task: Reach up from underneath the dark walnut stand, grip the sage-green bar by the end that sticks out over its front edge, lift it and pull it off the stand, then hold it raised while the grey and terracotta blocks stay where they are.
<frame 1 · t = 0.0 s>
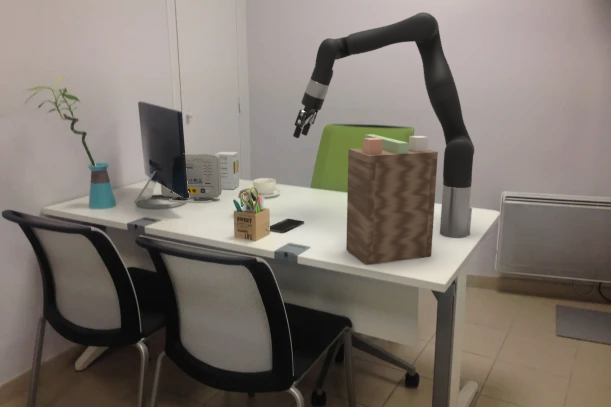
hand: (299, 136, 195), 31 cm above the table, tool tilted 20°, fingers open, 8 cm apart
walnut stand: (388, 253, 165), on the table
network device: (191, 200, 231), on the table
grey block: (418, 150, 157), point 32 cm above the table, touching walnut stand
sage green bar: (385, 148, 161), point 32 cm above the table, touching walnut stand
food container: (247, 217, 204), on the table
phone: (285, 228, 192), on the table
terracotta block: (372, 152, 152), point 32 cm above the table, touching walnut stand
supplement box: (227, 187, 256), on the table
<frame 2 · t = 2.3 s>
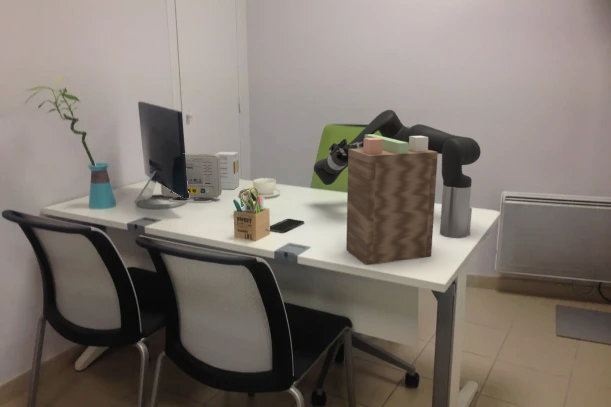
hand: (357, 140, 186), 31 cm above the table, tool pointing upward, fingers open, 8 cm apart
nothing on the table moved.
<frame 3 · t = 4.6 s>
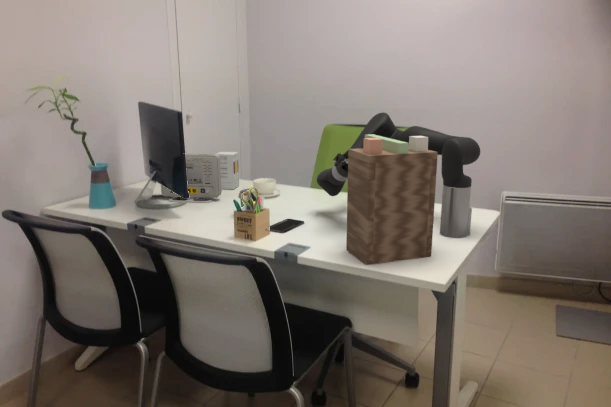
hand: (363, 150, 175), 29 cm above the table, tool pointing upward, fingers open, 8 cm apart
nothing on the table moved.
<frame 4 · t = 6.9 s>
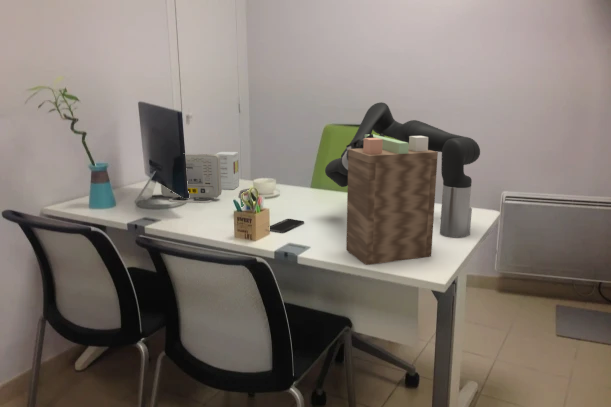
hand: (377, 136, 165), 35 cm above the table, tool pointing upward, fingers closed on sage green bar, 3 cm apart
sage green bar: (385, 148, 161), point 32 cm above the table, touching gripper, walnut stand
everything else where it was.
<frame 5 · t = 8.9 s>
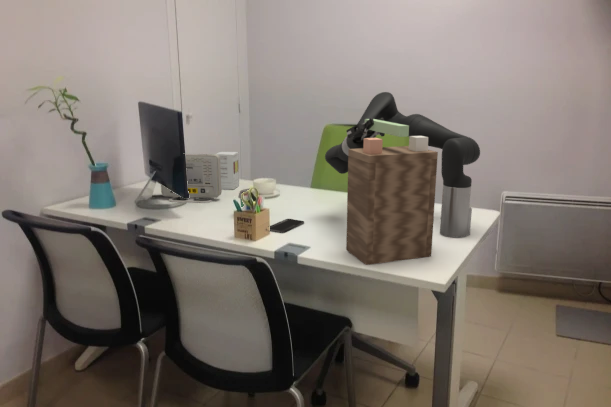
hand: (377, 120, 164), 40 cm above the table, tool pointing upward, fingers closed on sage green bar, 3 cm apart
sage green bar: (385, 132, 160), point 37 cm above the table, touching gripper
everything else where it was.
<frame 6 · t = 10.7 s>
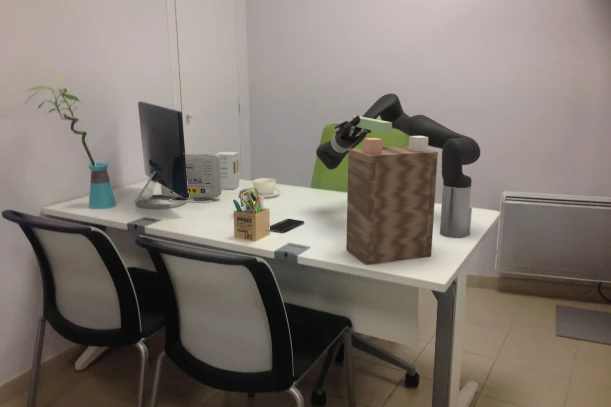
hand: (363, 118, 173), 40 cm above the table, tool pointing upward, fingers closed on sage green bar, 3 cm apart
sage green bar: (370, 128, 169), point 37 cm above the table, touching gripper
everything else where it was.
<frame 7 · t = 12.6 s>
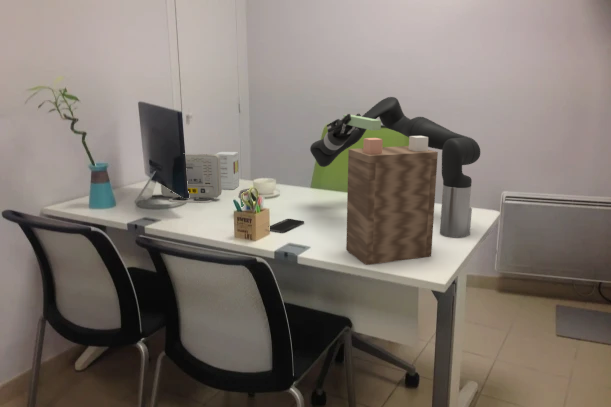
hand: (354, 116, 179), 40 cm above the table, tool pointing upward, fingers closed on sage green bar, 3 cm apart
sage green bar: (360, 126, 175), point 37 cm above the table, touching gripper
everything else where it was.
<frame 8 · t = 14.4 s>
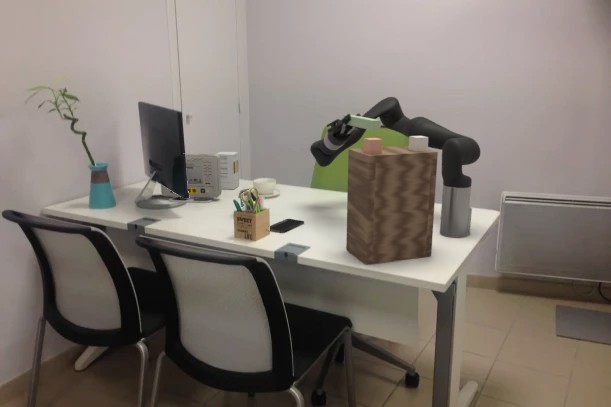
hand: (354, 116, 179), 40 cm above the table, tool pointing upward, fingers closed on sage green bar, 3 cm apart
sage green bar: (360, 126, 175), point 37 cm above the table, touching gripper
everything else where it was.
at the end: sage green bar inside the target area (1.5 cm from its centre), point 36.9 cm above the table; grey block moved 0.0 cm from its start; terracotta block moved 0.0 cm from its start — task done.
